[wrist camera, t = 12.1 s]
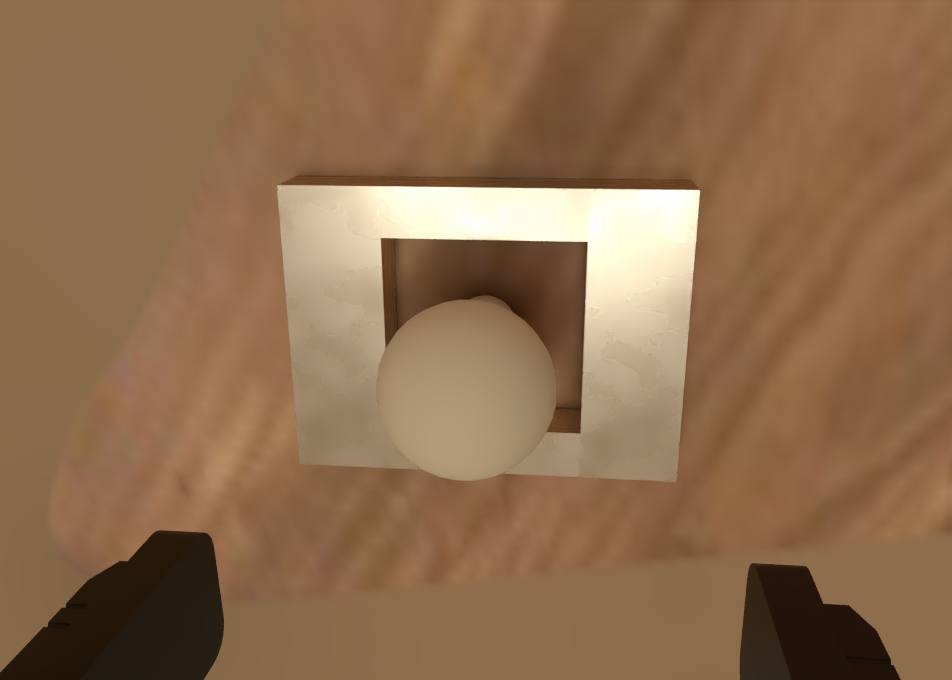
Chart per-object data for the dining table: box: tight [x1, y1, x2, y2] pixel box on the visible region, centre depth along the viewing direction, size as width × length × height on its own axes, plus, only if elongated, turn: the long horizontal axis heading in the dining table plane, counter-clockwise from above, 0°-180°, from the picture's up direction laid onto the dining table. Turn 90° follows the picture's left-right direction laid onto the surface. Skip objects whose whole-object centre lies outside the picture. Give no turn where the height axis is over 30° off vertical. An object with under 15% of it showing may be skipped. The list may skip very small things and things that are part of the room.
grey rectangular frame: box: [277, 176, 700, 482], centre depth 35 cm, size 16×12×2 cm
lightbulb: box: [376, 295, 557, 481], centre depth 31 cm, size 6×6×11 cm
